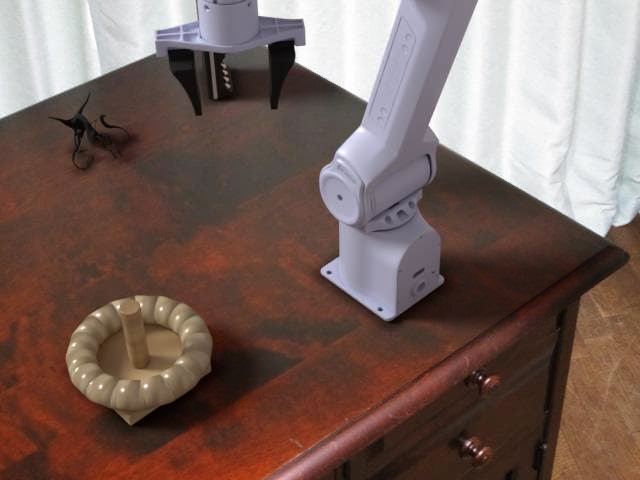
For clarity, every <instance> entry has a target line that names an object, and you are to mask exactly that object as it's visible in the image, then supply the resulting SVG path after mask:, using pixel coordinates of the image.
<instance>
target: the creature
mask: <svg viewBox="0 0 640 480" xmlns="http://www.w3.org/2000/svg"><path fill="white" fill-rule="evenodd" d="M90 97H91V91H88V95H87V97H86V99H85V100H84V103H82V105H81V106H80V108H79V109H78V110H77V112H76V113H75V114H74V115H73V117H72V118H69V119H63V118H60V117H53V116H47V118H48V119H52V120H55V121H58V122H60V123H62V124H63V125H64V126H66V127H68V128H70V129H72V130H73V140H74V141H73V142H74V149H73V150H72V156H71V161H72V164H73V165H74V166H75V167H76V168H77V169H79V170H87V169H88V168H89V161H90V158H91V157H92V154H89V155H88V154H87V155H86V154H85V157H88V158H87V161H86V167H85V168H84V167H79V166H78V165H77V163H76V162H75V157H76V153H78V154H79V155H81V156H83V154H81V153H80V149H79V148H80V147H81V146H80V145H81V143H82V140H83V139H84V135H85V132H86V136H87V139H88V141H89V142H90V143H91V144H94V143H96V142H97V140H99V141H100V144H101V146H102V147H101V148H102V149H103V150H104V151H108V152H110V153H111V155H112V156H113V158H114V159H115V160H118V158H117V157H116V155H115V153H114V152H113V150H112V149H111V148H109V147H107V146H108V145H110V146H111V147H115V148H116V151H117V152H118V154H119V156H120V157H122V156H123V155H122V153H121V151H120V149H119V147H118V145H117V144H116V141H112V139H111V137H110V135H108V133H107V132H103V131H102V132H101V133H99V132H98V131H97V130H96V126H97V121H98V118H96V119H95V120H93V121H92V122H90V121H89V119H88V118H87V117H86V116H85V115H83V110H84V109H85V107H86V106H87V104H88V102H89V100H90ZM105 117H107V115H106V114H105V113H104V114H100V115H99V121H100V123H101V124H102V126H103V127H104V128H106V129H119V130H123V131H125V132H126V133H127V136H128V138H127V140H126V141H117V143H121V144H122V143H124V144H125V143H128V142H129V141H130V134H129V132H128V130H126V129H125V128H124V127H122V126H118V125H112V124H108V122H106V121H105V119H104V118H105ZM93 123H95V125H94V126H93V125H92V124H93ZM103 134H104V135H103ZM103 138H106V141H107V143H105V141H104V139H103ZM81 139H82V140H81Z"/></svg>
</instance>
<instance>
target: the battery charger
mask: <svg viewBox="0 0 640 480" xmlns="http://www.w3.org/2000/svg"><path fill="white" fill-rule="evenodd" d="M195 7H196V8H195V9H196V17H197V21H198V20H199V14H198V4H197V0H195ZM229 54H231V53H217V52H209V51H200V55H201V64H202V71H203V78H204V83H205V89H206V93H207V98H208V99H209V100H218V99H224V98H227V97H230V96H232V95H233V94H234V84H233V79H232V74H231V70H230V66H229V65H227V64H226V63H224V59H225V58H226V55H229Z"/></svg>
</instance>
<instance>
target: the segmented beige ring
mask: <svg viewBox="0 0 640 480" xmlns="http://www.w3.org/2000/svg"><path fill="white" fill-rule="evenodd" d="M127 300H135V301H137V302H139V304H140V306H141V312H142V317H143V323H144V324H158V325H161V326H164V327H167V328H170V329H172V330H173V331H174V332H175V333H176V334H177V335H179V336H180V338H181V341H182V343H183V348H182V354H181V356H180V357H179V358H178V360H177V361H176V363H175V364H174V365H173V366H172V367H170V368H168V369H167V370H165V371H164V372H162V373H161V374H159V375H156V376H153V377H149V378H146V379H142V380H122V379H119V378H116V377H113V376H110V375H108V374H106V373H105V372H104V371H103V370H102V369H101V368H100V367H99V365H98V362H97V359H96V357H97V353H98V349H99V347H100V346H101V344H102V343H103V342H104V341H105V339H106V338H108V337H110V336H111V335H113V334H115V333H116V332H118V331H119V330H121V329H123V325H122V320H121V315H120V310H119V307H120V305H121V304H122V303H123V302H124V301H127ZM213 341H214V340H213V337H212V335H211V332H210V331H209V328H208V325H207V323H206V321H205V319H204V318H203V317H202V315H200V314H199V313H197V312H196V311H195V310H194V309H193V308H191V306H190V305H188V304H187V303H184V302H182V301H179V300H177V299H172V298H170V297H166V296H163V295H132V296H129V297H125V298H120V299H117V300H113V301H110V302H108V303H107V304H105V305H103V306H101V307H100V308H98V309H96V310H94V311H93V312H91V313H90V314H88V315H87V316H86V317H85V318H84V319H83V321H82V322H81V323H80V324H79V326H78V327H77V328H76V329H75V330H74V332H72V334H71V336H70V339H69V343H68V347H67V352H66V354H65V363H66V364H65V365H66V367H67V371H68V374H69V378H70V381H71V383H72V384H73V386H74V387H75V388H76V389H78V391H80V392H81V394H83V396H84V397H85V398H87V399H88V400H89V401H90V402H93V403H95V404H98V405H101V406H103V407H106V408H108V409H111V410H114V411H115V410H137V411H142V410H148V409H151V408H155V407H158V406H159V407H161V406H164V405H169V404H171V403H173V402H175V401H176V400H178V399H179V398H181V397H183V396H184V395H185V394H187V393H189V392H190V391H192V390H193V389H194V388H195V387H196V386H197V385H198V383H199V381H200V380H201V379H202V378H203V377H202V376H203V374H204V373H205V372H206V370H207V369H208V367H209V364H211V359H212V352H213ZM201 377H202V378H201ZM159 407H158V408H159Z"/></svg>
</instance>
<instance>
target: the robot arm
mask: <svg viewBox="0 0 640 480" xmlns="http://www.w3.org/2000/svg"><path fill="white" fill-rule="evenodd" d="M478 2H479V0H400V4H399V7H398V9H397V12H396V15H395V18H394V21H393V25H392V28H391V31H390V34H389V37H388V40H387V43H386V46H385V49H384V52H383V55H382V59H381V61H380V65H379V67H378V71H377V74H376V77H375V80H374V84H373V86H372V90H371V93H370V96H369V99H368V102H367V105H366V107H365V112H364V114H363V118H362V121H361V123H360V125H359V126H358V127H357V128H356V130H354V132H353V133H352V134H351V135H349V137H348V138H347V139H346V140H345V141H344V142H343V143H342V144H341V145H340V146H339V148H338V149H337V150H336V151H335V153H334V158H333V159H332V161H331V162H330V163H328V164H326V165H324V166H323V167H322V169H321V170H320V172H319V177H318V183H319V192H320V197H321V198H322V201H323V203H324V205H325V207H326V208H327V210H328V212H330V213H331V215H332V217H334V218H335V219H336V220H338V244H339V245H338V246H339V247H338V249H339V250H338V251H339V252H338V253H339V256H338V257H336V258H335V259H333V260H332V261H330V262H329V263H327V264H326V265H324V266H322V267H321V269H320V274H321V275H322V276H323V277H324V278H326V279H327V280H329V281H330V282H331V283H333V284H334V285H335V286H336V287H337V288H339V289H341V290H342V291H344V293H346V294H348V295H349V296H350V297H352V298H353V299H354V300H356V301H358V302H359V303H360V304H361V305H363V306H364V307H365V308H367V309H368V310H370V311H371V312H372V313H374V314H375V315H376V316H378V317H379V318H381V319H382V320H383V321H386V322H390V321H393V320H394V319H395V318H398V316H400V315H401V314H402V313H404V312H406V311H407V310H408V309H409V308H411V307H412V306H414V305H415V304H416V303H418V302H419V301H421V300H423V298H425V297H426V296H428V295H429V294H430V293H432V292H433V291H434V290H436V289H437V288H438V287H440V286H442V285H443V284H444V282H445V277H444V276H443V275H441V274H440V268H441V253H442V237H441V235H440V234H439V232H438V231H437V230H436V229H435V228H433V226H431V225H430V224H429V222H427V220H426V219H425V218H424V217H423V215H422V213H421V212H420V209H419V207H418V202H419V201H420V200H421V199H422V198H423V188H424V187H426V186H428V185H430V184H431V183H432V182H433V181H434V180H435V177H436V174H437V160H436V154H437V153H436V152H437V148H438V145H439V143H440V140H439V138H438V136H437V135H436V133H435V132H434V130H433V128H431V126H429V125H430V123H431V120H432V118H433V115H434V114H435V110H436V108H437V105H438V102H439V100H440V97H441V96H442V92H443V90H444V88H445V85H446V82H447V80H448V78H449V75H450V72H451V70H452V68H453V65H454V62H455V59H456V58H457V55H458V53H459V50H460V48H461V45H462V43H463V40H464V37H465V35H466V32H467V30H468V27H469V25H470V22H471V20H472V17H473V14H474V13H475V10H476V7H477V4H478ZM258 3H259V1H258V0H197V4H198V14H199V20H198V19H197V20H194V21H191V22H187V23H184V24H180V25H177V26H172V27H168V28H162V29H155V30H154V46H155V54H156V58H166V57H168V58H167V59H168V67H169V68H168V69H169V71H170V72H171V74H172V76H173V77H174V78H175V79H176V80H177V81H178V83H179V84H180V85H181V86H182V88H183V90H184V91H185V93H186V95H187V96H188V99H189V101H190V104H191V106H192V108H193V112H194V116H196V117H201V116H203V108H202V107H203V106H202V95H201V90H200V86H199V80H198V76H197V75H198V74H197V66H196V57H195V52H197V51H200V52H201V51H209V52H217V53H230V54H236V53H241V52H245V51H248V50H253V49H255V48H260V47H262V46H267V55H268V96H269V105H270V111H273V110H278V108H279V100H280V97H281V92H282V89H283V86H284V83H285V81H286V78H287V77H288V75H289V73H290V72H291V70H292V68H293V67H294V65H295V62H296V58H297V55H296V48H295V47H305V46H307V45H306V43H307V41H306V26H305V21H304V18H281V17H275V16H274V17H273V16H266V15H265V16H264V15H259V4H258Z"/></svg>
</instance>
